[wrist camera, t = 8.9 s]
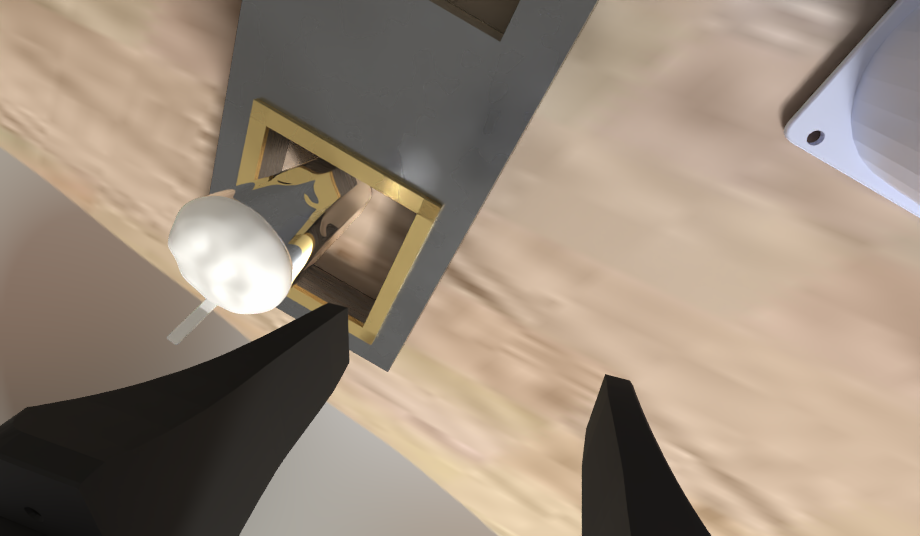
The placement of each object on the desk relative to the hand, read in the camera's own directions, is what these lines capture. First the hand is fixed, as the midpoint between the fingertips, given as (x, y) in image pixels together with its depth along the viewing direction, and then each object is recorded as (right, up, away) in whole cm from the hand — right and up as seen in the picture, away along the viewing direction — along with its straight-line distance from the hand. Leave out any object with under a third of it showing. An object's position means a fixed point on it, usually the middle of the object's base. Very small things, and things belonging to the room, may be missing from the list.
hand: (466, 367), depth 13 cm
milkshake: (-6, +7, +11) cm, 14 cm away
